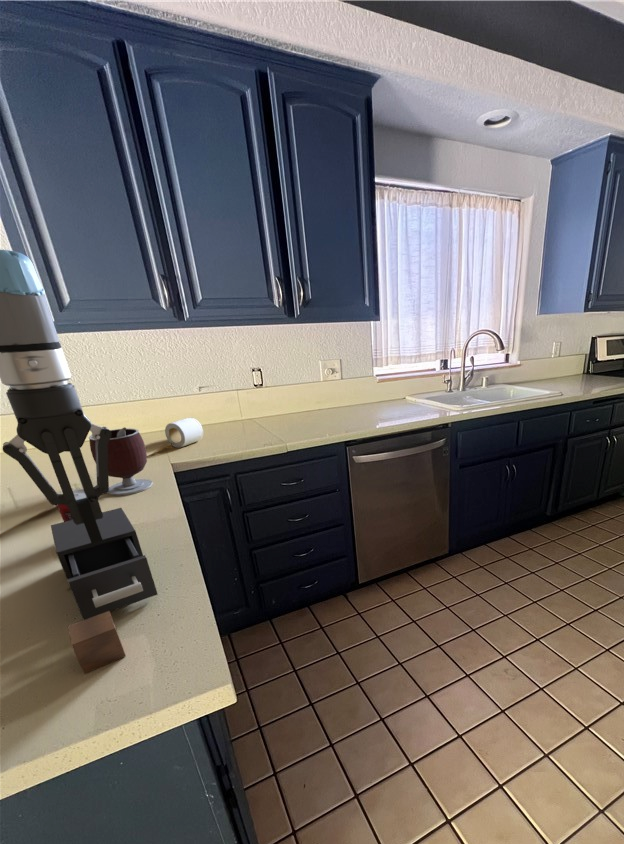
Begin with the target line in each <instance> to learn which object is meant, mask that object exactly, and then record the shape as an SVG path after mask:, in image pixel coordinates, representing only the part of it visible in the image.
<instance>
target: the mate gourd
mask: <svg viewBox="0 0 624 844" xmlns="http://www.w3.org/2000/svg"><path fill="white" fill-rule="evenodd" d="M109 430H110V431H111V432H112V435H111V438H110V440H109V443H108V445H107V448H108V477H111V478H120V479H122V481H120V482H117V483H115V484H113V485H111V486H109V491H108V493H107V494H108V495H110V496H118V497H119V496H128V495H134V494H137V493H141V492H145V491H146V490H148V489H150V488H151V487H152V486H153V481H152V480H150V479H148V478H147V479H146V478H136V479H135V478H134V477H133V476H135V475H137V474H139V473H141V472H142V471H143V470H144V468H145V466H146V465H147V462H148V456H147V455H148V454H147V449H146V445H145V442H144V439H143V437H142V435H141V434H140V431H139V429H137V428H127V427H125V426H124V427H122V428H116V429H109ZM88 439H89V449H90V453H91V455H92V458H93V461H94V463H95V464H96V448H95V442H96V440H94V439H93V437H92V434H91V435H89V436H88Z"/></svg>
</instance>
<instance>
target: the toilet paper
mask: <svg viewBox="0 0 624 844" xmlns="http://www.w3.org/2000/svg"><path fill="white" fill-rule="evenodd" d="M164 435H165V438H166V439H167V441H168V443H170V445H172V446H173V447H175V448H178V449H180V448H183V447H185V446H188V445H191V444H194V443H196V442H199V441H201V440H202V439H203V438H204V429H203V427H202V424H201V423H200V422H199V421H198V419H196V418H194V417H187V418H183V419H179V420H175V421H173V422H170V423H167V424H166V426H165V428H164Z"/></svg>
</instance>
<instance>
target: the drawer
mask: <svg viewBox="0 0 624 844" xmlns="http://www.w3.org/2000/svg"><path fill="white" fill-rule="evenodd" d="M68 558H69V562H70V566H71V570H72V574H73V577H74V578H70V579H68V580H67V583H68V586H69V588H70V591H71V593H72V595H73V598H74V600H75V603H76V606H77V607H78V610H79V612H80V615H81V617H82V621H83V620H86V619H88V618H91V617H94V616H96V615H99V614H102V613H105V612H107V611H110V613H111V612H113V611H116V610H119V609H121V608H124V607H127V606H130V605H133V604H136V603H138V602H140V601H143V600H146V599H149V598H152V597H154V596H157V595H158V591H157V588H156V584H155V581H154V578H153V575H152V571H151V568H150V565H149V561H148V559H147V556H146V555H145V554H143V556H140V557H139V555H138V553H137V551H136V549H135V548H134V546H133V544H132V542H131V541H130V539H129V537H125V538H122V539H118V540H115V541H111V542H108V543H105V544H101V545H98V546H94V547H91V548H87V549H84V550H80V551H77V552H73V553H70V554H68Z"/></svg>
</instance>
